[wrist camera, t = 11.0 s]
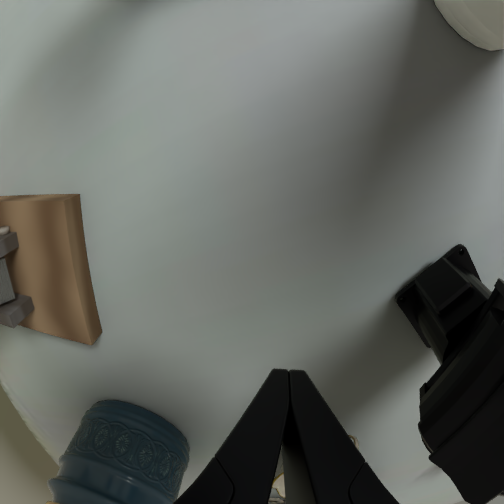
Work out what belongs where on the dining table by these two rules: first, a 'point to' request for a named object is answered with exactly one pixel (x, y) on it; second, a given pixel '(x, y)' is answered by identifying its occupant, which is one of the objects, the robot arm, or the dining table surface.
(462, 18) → the bottle
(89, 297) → the board
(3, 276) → the lever
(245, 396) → the dining table surface
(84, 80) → the dining table surface
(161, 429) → the canister
